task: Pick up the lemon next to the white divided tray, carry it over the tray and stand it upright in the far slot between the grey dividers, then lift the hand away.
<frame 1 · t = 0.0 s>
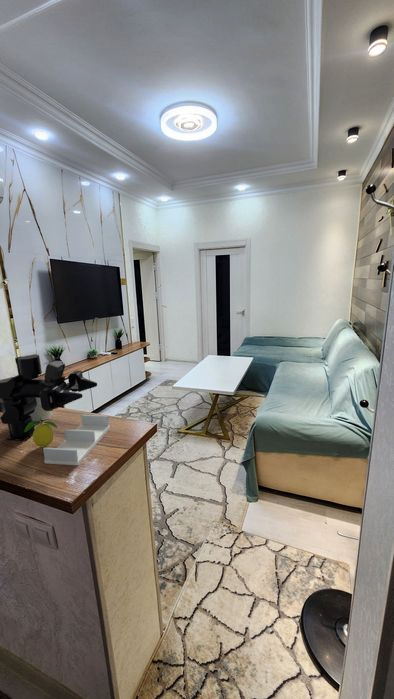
hand: (89, 389, 88), 17 cm above the table, tool horizontal, fingers open, 9 cm apart
white divided tray: (80, 443, 90), on the table
lemon: (44, 448, 88), on the table
cup: (39, 417, 108), on the table
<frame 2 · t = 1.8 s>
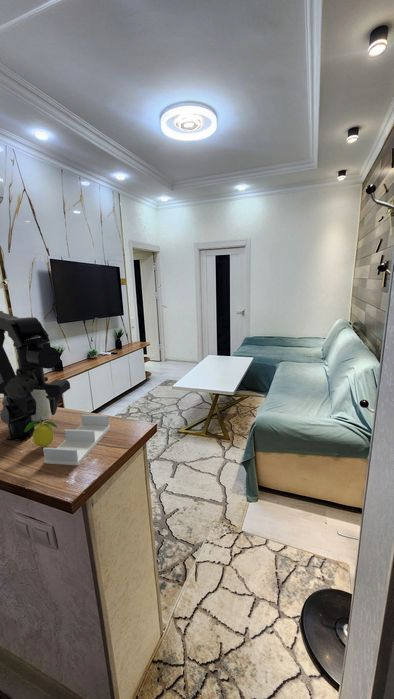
hand: (39, 414, 86), 11 cm above the table, tool pointing down, fingers open, 9 cm apart
nothing on the table moved.
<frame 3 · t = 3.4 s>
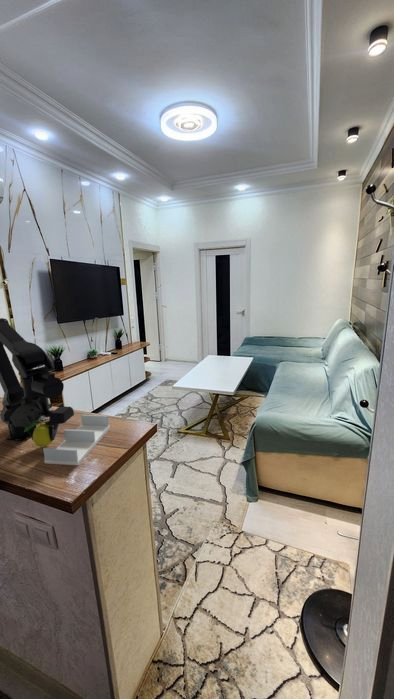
hand: (43, 439, 87), 3 cm above the table, tool pointing down, fingers closed on lemon, 5 cm apart
lemon: (44, 448, 88), on the table, touching gripper
everything else where it was.
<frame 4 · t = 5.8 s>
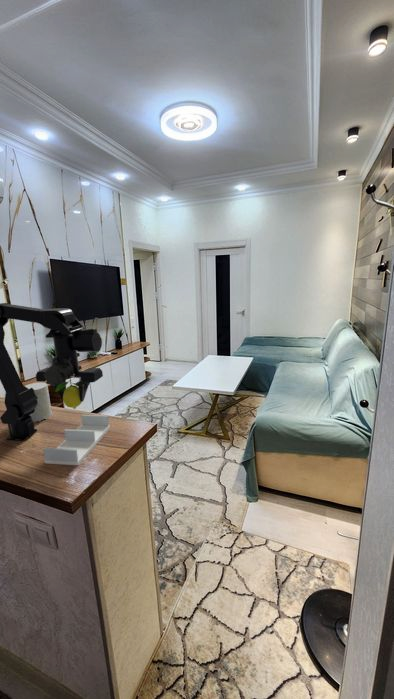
hand: (73, 401, 89), 13 cm above the table, tool pointing down, fingers closed on lemon, 5 cm apart
lemon: (74, 409, 90), point 10 cm above the table, touching gripper
everything else where it was.
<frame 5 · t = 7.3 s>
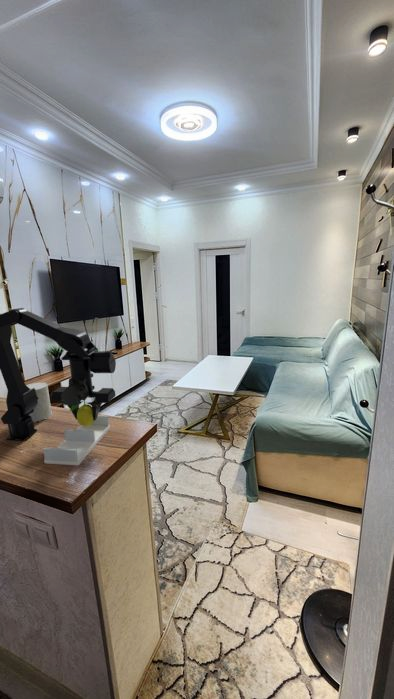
hand: (86, 419, 93), 6 cm above the table, tool pointing down, fingers closed on lemon, 5 cm apart
lemon: (87, 427, 94), point 3 cm above the table, touching gripper
everything else where it was.
when the fingers open (5 cm above the table, at t = 8.3 s): lemon drops 1 cm, resting on white divided tray.
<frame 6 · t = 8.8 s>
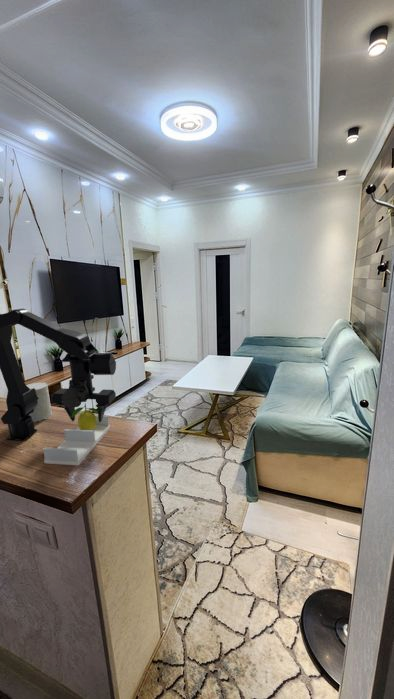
hand: (86, 421, 93), 5 cm above the table, tool pointing down, fingers open, 9 cm apart
lemon: (88, 433, 94), point 1 cm above the table, touching white divided tray
everything else where it was.
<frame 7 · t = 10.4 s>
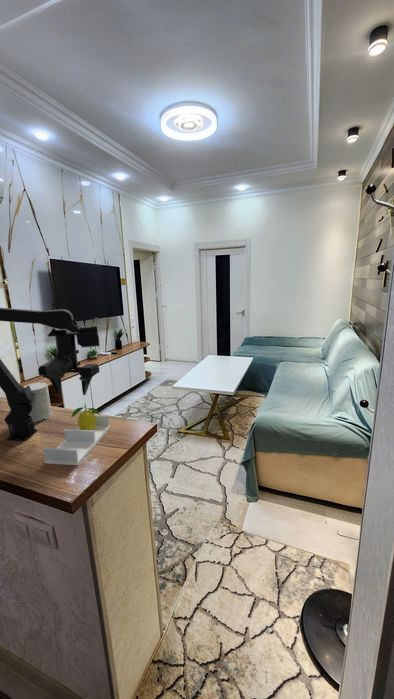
hand: (71, 394, 98), 12 cm above the table, tool pointing down, fingers open, 9 cm apart
nothing on the table moved.
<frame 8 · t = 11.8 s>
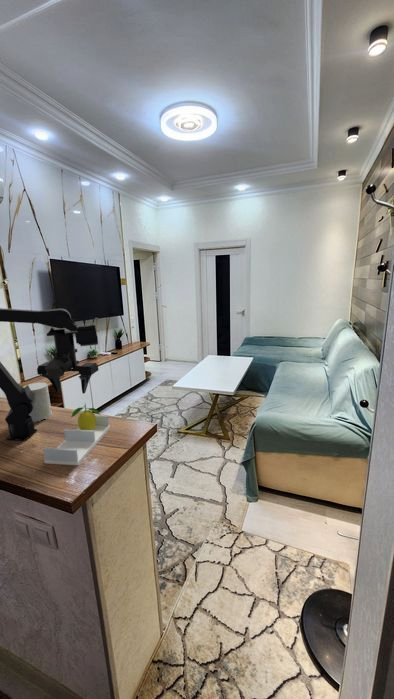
hand: (71, 392, 98), 12 cm above the table, tool pointing down, fingers open, 9 cm apart
nothing on the table moved.
at the end: lemon 0.1 cm from the target spot on the white divided tray, point 0.8 cm above the white divided tray's base; lemon tilted 0°; the gripper is holding nothing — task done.
